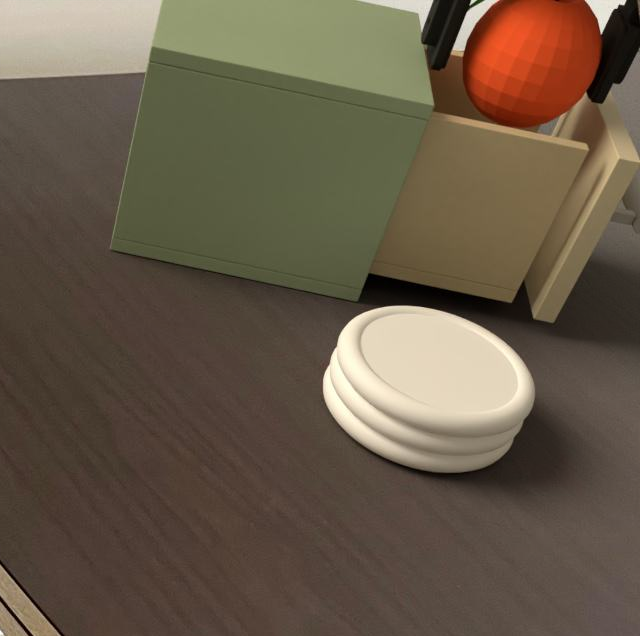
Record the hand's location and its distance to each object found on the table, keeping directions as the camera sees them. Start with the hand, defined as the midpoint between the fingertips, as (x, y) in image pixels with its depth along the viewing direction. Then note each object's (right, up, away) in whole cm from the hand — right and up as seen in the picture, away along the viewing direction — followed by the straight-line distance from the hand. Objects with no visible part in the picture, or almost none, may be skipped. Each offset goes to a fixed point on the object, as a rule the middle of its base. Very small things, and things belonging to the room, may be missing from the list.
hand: (513, 75), depth 63 cm
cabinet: (-13, -5, +9) cm, 17 cm away
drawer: (0, -7, +8) cm, 11 cm away
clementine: (0, -2, +2) cm, 3 cm away
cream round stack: (-6, -19, -2) cm, 20 cm away
